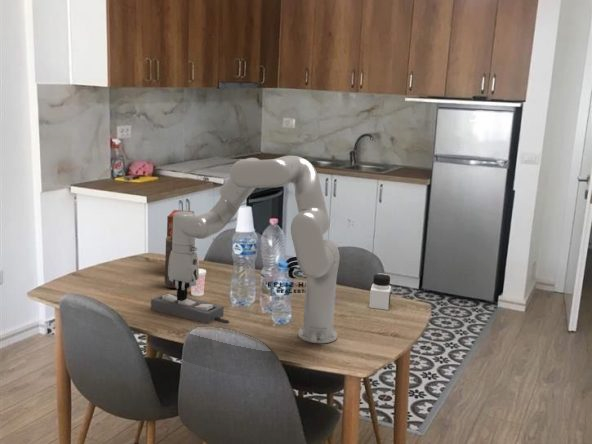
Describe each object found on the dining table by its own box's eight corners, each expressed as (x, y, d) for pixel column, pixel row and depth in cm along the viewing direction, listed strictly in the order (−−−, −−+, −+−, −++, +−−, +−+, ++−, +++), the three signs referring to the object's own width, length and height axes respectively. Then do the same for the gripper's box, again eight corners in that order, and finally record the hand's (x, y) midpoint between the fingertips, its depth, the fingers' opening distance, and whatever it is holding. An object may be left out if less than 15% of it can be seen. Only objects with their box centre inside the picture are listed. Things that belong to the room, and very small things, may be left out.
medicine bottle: (388, 310, 235) (391, 278, 233) (369, 307, 236) (371, 276, 234) (389, 304, 242) (392, 273, 239) (370, 301, 243) (373, 271, 241)
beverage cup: (186, 292, 242) (186, 256, 239) (200, 290, 246) (200, 254, 243) (194, 297, 237) (195, 260, 234) (208, 294, 241) (209, 258, 238)
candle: (186, 289, 246) (186, 238, 241) (166, 291, 243) (167, 239, 239) (181, 283, 252) (182, 233, 248) (163, 284, 250) (163, 234, 245)
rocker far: (179, 301, 225) (180, 298, 225) (172, 304, 222) (173, 301, 222) (168, 296, 227) (168, 293, 227) (161, 299, 224) (162, 296, 224)
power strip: (235, 319, 218) (235, 309, 218) (220, 327, 211) (220, 317, 210) (167, 301, 231) (167, 292, 231) (150, 308, 224) (151, 299, 223)
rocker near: (213, 307, 219) (212, 304, 218) (206, 310, 216) (206, 307, 215) (201, 307, 221) (200, 303, 221) (194, 310, 218) (194, 306, 218)
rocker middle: (195, 305, 222) (196, 302, 222) (189, 308, 219) (189, 305, 219) (184, 300, 224) (184, 297, 224) (177, 303, 221) (178, 300, 221)
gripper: (208, 250, 218) (206, 301, 222) (172, 242, 225) (171, 292, 229) (194, 254, 212) (192, 307, 216) (158, 246, 218) (157, 297, 222)
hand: (181, 299), depth 222 cm, fingers closed
